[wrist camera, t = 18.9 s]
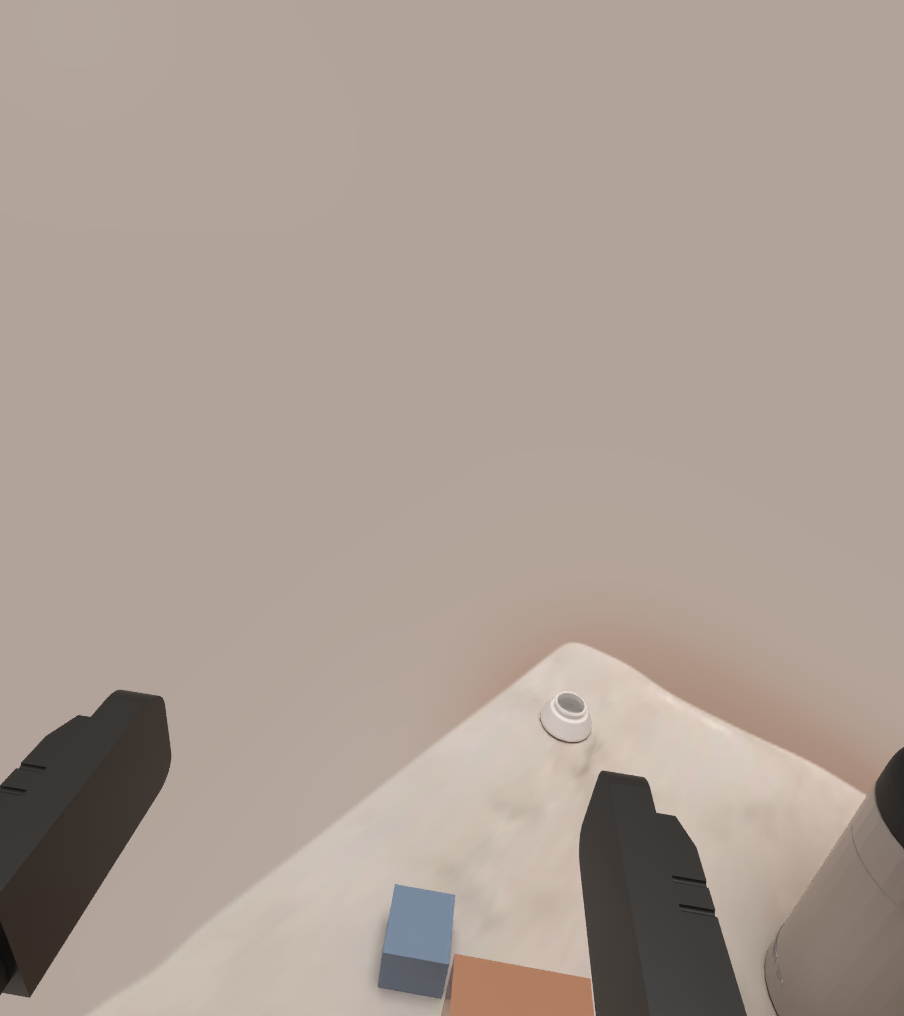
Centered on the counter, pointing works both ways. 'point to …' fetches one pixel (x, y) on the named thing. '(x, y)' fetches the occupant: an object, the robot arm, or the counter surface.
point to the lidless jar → (566, 717)
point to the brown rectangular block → (513, 991)
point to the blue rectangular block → (417, 942)
